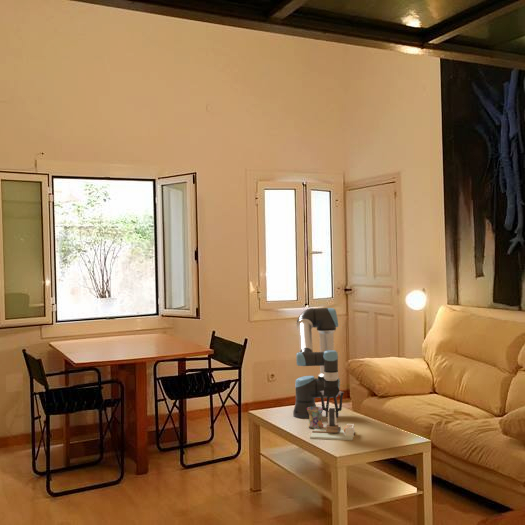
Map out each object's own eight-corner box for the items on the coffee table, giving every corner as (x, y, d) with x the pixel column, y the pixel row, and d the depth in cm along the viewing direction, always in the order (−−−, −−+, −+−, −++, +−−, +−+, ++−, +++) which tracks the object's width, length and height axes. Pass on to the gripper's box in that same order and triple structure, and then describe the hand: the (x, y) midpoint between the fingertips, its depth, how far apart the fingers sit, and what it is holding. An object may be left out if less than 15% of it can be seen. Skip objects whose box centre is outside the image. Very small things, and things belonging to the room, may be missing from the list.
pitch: (314, 430, 340) (314, 427, 340) (354, 431, 335) (354, 428, 335) (310, 438, 324) (310, 435, 324) (352, 440, 319) (352, 437, 319)
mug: (326, 428, 343) (326, 409, 343) (310, 430, 341) (310, 410, 341) (318, 423, 355) (317, 404, 355) (303, 424, 352) (302, 406, 352)
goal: (346, 431, 333) (346, 423, 333) (354, 431, 332) (354, 424, 332) (345, 435, 325) (345, 427, 325) (353, 435, 324) (352, 428, 324)
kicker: (327, 429, 334) (326, 407, 334) (340, 430, 332) (340, 407, 332) (326, 432, 329) (325, 409, 329) (339, 432, 327) (339, 410, 327)
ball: (348, 424, 330) (351, 430, 330) (342, 427, 331) (346, 433, 331) (347, 426, 327) (351, 432, 327) (342, 429, 328) (345, 435, 327)
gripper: (315, 380, 329) (316, 424, 329) (345, 381, 325) (346, 425, 325) (317, 378, 336) (318, 421, 336) (346, 378, 332) (347, 422, 332)
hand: (332, 423), depth 330 cm, fingers closed on kicker, 3 cm apart
